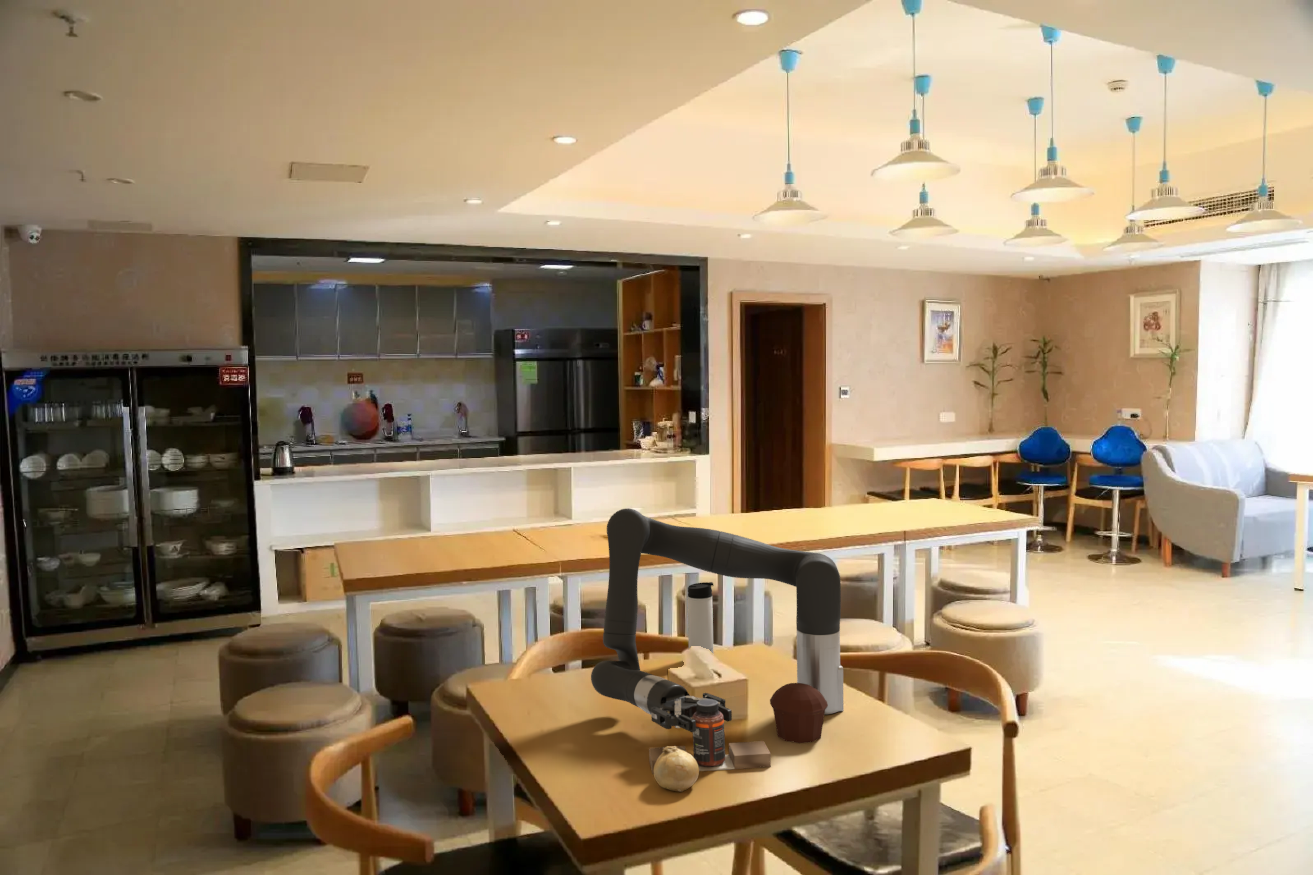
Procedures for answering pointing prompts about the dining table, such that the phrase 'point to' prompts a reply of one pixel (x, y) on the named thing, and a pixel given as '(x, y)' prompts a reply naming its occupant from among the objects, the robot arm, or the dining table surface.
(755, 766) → the rail
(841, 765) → the dining table surface
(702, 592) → the travel mug
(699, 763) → the supplement bottle
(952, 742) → the dining table surface
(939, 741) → the dining table surface
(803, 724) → the muffin
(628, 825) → the dining table surface
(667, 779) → the onion
